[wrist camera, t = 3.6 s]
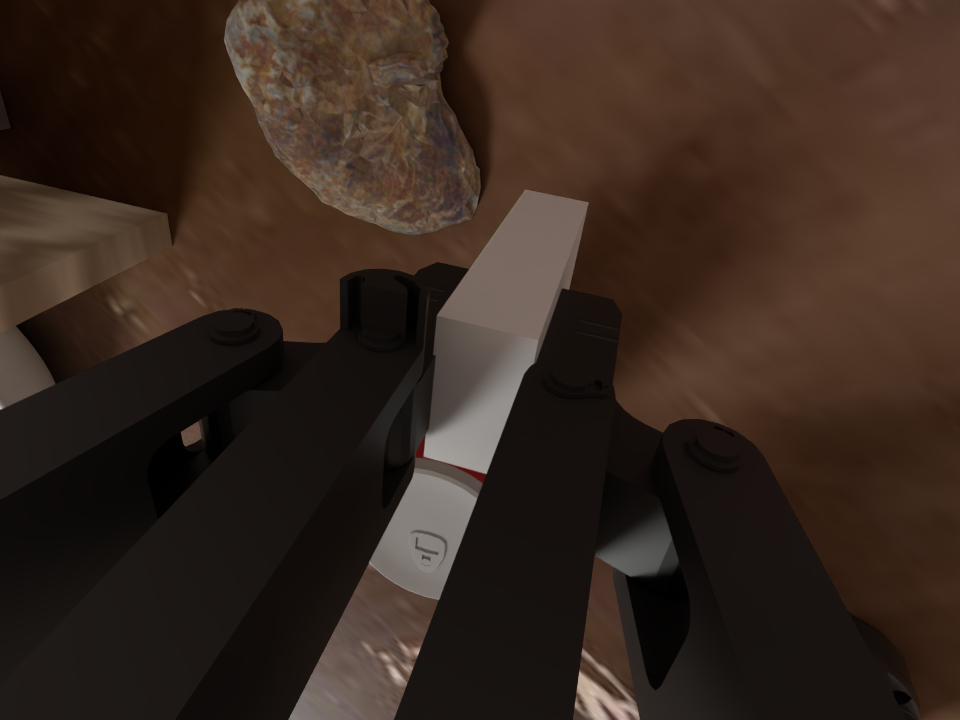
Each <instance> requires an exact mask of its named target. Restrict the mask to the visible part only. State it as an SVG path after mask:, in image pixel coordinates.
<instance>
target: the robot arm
mask: <svg viewBox="0 0 960 720" xmlns="http://www.w3.org/2000/svg"><path fill="white" fill-rule="evenodd" d="M588 204H589V202H584V201H579V200H574V199H569V198H564V197H559V196H555V195H550V194H545V193H540V192H535V191H530V190H525V191H524V192H523V194H522V195H521V196H520V198H519V199H518V201H517V202H516V204H515V205H514V206H513V208H512V209H511V211H510V212H509V214H508V215H507V216H506V218H505V219H504V221H503V222H502V223H501V225H500V226H499V228H498V229H497V231H496V232H495V233H494V235H493V236H492V238H491V239H490V241H489V242H488V243H487V245H486V246H485V248H484V249H483V251H482V252H481V253H480V255H479V256H478V258H477V259H476V261H475V262H474V263H473V265H472V266H471V268H470V269H466V268H461V267H457V266H453V265H448V264H444V263H439V262H437V263H434V264H432V265H430V266H427V267H425V268H422V269H420V270H419V271H418V272H417V273H416V274H415V275H414V276H413V275H410V274H407V273H404V272H401V271H396V270H388V269H365V270H361V271H357V272H352V273H350V274H348V275H346V276H344V277H343V278H341V279H340V329H339V330H338V331H337V332H336V333H335V334H334V336H333V337H332V338H331V339H330V340H329V341H328V342H327V343H307V342H288V341H283V329H282V327H281V325H280V323H279V321H278V320H277V319H275V318H274V317H272V316H271V315H269V314H266V313H263V312H259V311H256V310H251V309H243V308H234V309H230V310H223V311H217V312H214V313H211V314H208V315H205V316H202V317H200V318H197V319H195V320H193V321H191V322H189V323H187V324H184V325H182V326H180V327H178V328H176V329H174V330H171V331H169V332H167V333H165V334H163V335H161V336H159V337H156V338H154V339H152V340H150V341H148V342H146V343H143V344H141V345H139V346H137V347H135V348H133V349H130V350H128V351H126V352H124V353H122V354H120V355H118V356H115V357H113V358H111V359H109V360H107V361H105V362H102V363H100V364H98V365H96V366H94V367H92V368H89V369H87V370H85V371H83V372H81V373H79V374H76V375H74V376H72V377H70V378H68V379H66V380H64V381H61V382H59V383H57V384H55V385H53V386H51V387H48V388H46V389H44V390H42V391H40V392H38V393H35V394H33V395H31V396H29V397H27V398H25V399H22V400H20V401H18V402H16V403H14V404H12V405H10V406H7V407H5V408H3V409H1V410H0V720H288V719H289V717H290V715H291V713H292V711H293V709H294V707H295V705H296V703H297V702H298V700H299V698H300V696H301V694H302V692H303V690H304V688H305V686H306V684H307V682H308V680H309V678H310V676H311V674H312V672H313V670H314V669H315V667H316V665H317V663H318V661H319V659H320V657H321V655H322V653H323V651H324V649H325V647H326V645H327V643H328V641H329V639H330V637H331V635H332V634H333V632H334V630H335V628H336V626H337V624H338V622H339V620H340V618H341V616H342V614H343V612H344V610H345V608H346V606H347V604H348V602H349V601H350V599H351V597H352V595H353V593H354V591H355V589H356V587H357V585H358V583H359V581H360V579H361V577H362V575H363V573H364V571H365V569H366V567H367V566H368V564H369V562H370V560H371V558H372V556H373V554H374V552H375V550H376V548H377V546H378V544H379V542H380V540H381V538H382V536H383V534H384V533H385V531H386V529H387V527H388V525H389V523H390V521H391V519H392V517H393V515H394V513H395V511H396V509H397V507H398V505H399V503H400V501H401V499H402V498H403V496H404V494H405V492H406V490H407V488H408V486H409V484H410V482H411V480H412V478H413V474H414V469H415V460H416V451H417V449H418V447H419V446H420V444H421V442H422V440H423V438H424V436H425V434H426V437H425V447H424V457H427V458H431V459H434V460H438V461H442V462H445V463H449V464H452V465H456V466H460V467H463V468H467V469H470V470H474V471H478V472H481V473H485V474H486V476H485V479H484V482H483V484H482V487H481V490H480V492H479V495H478V498H477V500H476V503H475V506H474V508H473V511H472V514H471V516H470V519H469V522H468V524H467V527H466V530H465V532H464V535H463V538H462V540H461V543H460V546H459V548H458V551H457V554H456V556H455V559H454V561H453V564H452V567H451V569H450V572H449V575H448V577H447V580H446V583H445V585H444V588H443V591H442V593H441V596H440V599H439V601H438V604H437V607H436V609H435V612H434V615H433V617H432V620H431V623H430V625H429V628H428V631H427V633H426V636H425V639H424V641H423V644H422V646H421V649H420V652H419V654H418V657H417V660H416V662H415V665H414V668H413V670H412V673H411V676H410V678H409V681H408V684H407V686H406V689H405V692H404V694H403V697H402V700H401V702H400V705H399V708H398V710H397V713H396V716H395V718H394V720H573V714H574V706H575V699H576V691H577V684H578V676H579V669H580V661H581V653H582V646H583V638H584V631H585V623H586V616H587V608H588V600H589V593H590V585H591V578H592V570H593V563H594V555H595V556H596V557H598V558H600V559H601V560H603V561H605V562H606V563H608V564H610V565H611V566H613V567H614V571H613V579H614V585H615V590H616V595H617V601H618V606H619V611H620V616H621V622H622V627H623V632H624V637H625V643H626V648H627V653H628V658H629V664H630V669H631V674H632V679H633V685H634V690H635V695H636V701H637V706H638V711H639V716H640V720H920V708H919V702H918V698H917V695H916V692H915V690H914V687H913V684H912V681H911V678H910V675H909V673H908V670H907V667H906V664H905V662H904V660H903V658H902V657H901V655H900V654H899V652H898V651H897V650H896V648H895V647H894V646H893V645H892V644H891V643H890V642H889V641H888V640H887V639H886V638H885V637H884V636H882V635H881V634H880V633H879V632H877V631H876V630H874V629H873V628H871V627H870V626H868V625H867V624H865V623H863V622H861V621H860V620H858V619H856V618H854V617H852V616H850V615H849V613H848V611H847V609H846V607H845V605H844V603H843V602H842V600H841V598H840V596H839V594H838V592H837V591H836V589H835V587H834V585H833V583H832V581H831V579H830V578H829V576H828V574H827V572H826V570H825V568H824V567H823V565H822V563H821V561H820V559H819V557H818V555H817V554H816V552H815V550H814V548H813V546H812V544H811V543H810V541H809V539H808V537H807V535H806V533H805V531H804V530H803V528H802V526H801V524H800V522H799V520H798V519H797V517H796V515H795V513H794V511H793V509H792V507H791V506H790V504H789V502H788V500H787V498H786V496H785V495H784V493H783V491H782V489H781V487H780V485H779V483H778V482H777V480H776V478H775V476H774V474H773V472H772V471H771V469H770V467H769V465H768V463H767V461H766V459H765V458H764V456H763V455H762V454H761V453H760V451H759V450H758V449H757V447H756V446H755V445H754V444H753V443H752V442H750V441H749V440H748V439H746V438H745V437H744V436H742V435H741V434H739V433H738V432H736V431H734V430H732V429H730V428H728V427H725V426H724V425H721V424H719V423H714V422H710V421H705V420H701V419H682V420H680V421H677V422H675V423H672V424H670V425H669V426H668V427H667V429H666V430H665V431H664V433H662V432H660V431H658V430H656V429H654V428H652V427H650V426H648V425H646V424H644V423H642V422H640V421H639V420H637V419H635V418H634V417H632V416H631V415H630V414H629V413H627V412H626V411H625V410H624V409H623V408H622V407H621V406H620V404H619V403H618V402H617V401H616V399H615V391H614V386H613V385H612V383H613V376H614V369H615V361H616V354H617V347H618V340H619V333H620V325H621V318H622V313H621V312H620V310H619V309H618V307H617V305H616V304H615V302H614V301H613V300H612V299H608V298H603V297H599V296H595V295H590V294H586V293H581V292H577V291H572V290H569V288H570V284H571V279H572V275H573V270H574V266H575V261H576V257H577V252H578V248H579V244H580V239H581V235H582V230H583V226H584V221H585V217H586V212H587V208H588ZM198 421H199V424H200V430H201V436H202V439H200V440H199V441H197V442H196V443H193V444H191V445H188V446H186V447H185V446H184V444H183V441H182V436H181V431H183V430H185V429H186V428H188V427H189V426H191V425H193V424H194V423H196V422H198Z"/></svg>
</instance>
